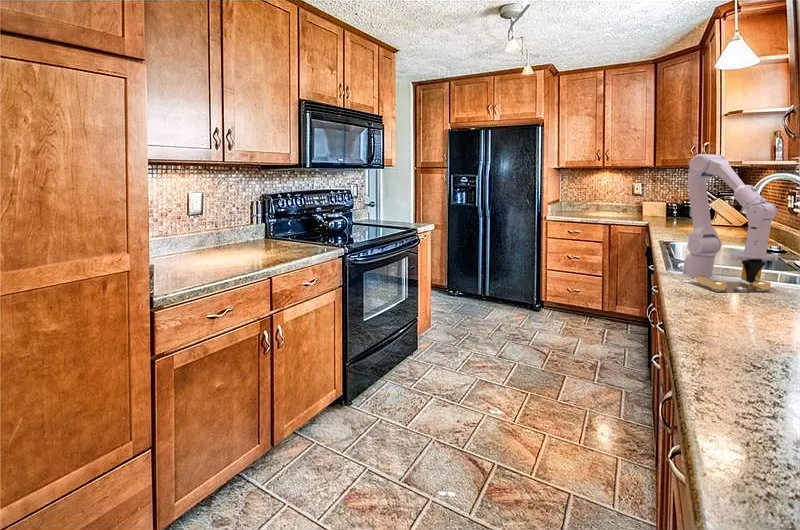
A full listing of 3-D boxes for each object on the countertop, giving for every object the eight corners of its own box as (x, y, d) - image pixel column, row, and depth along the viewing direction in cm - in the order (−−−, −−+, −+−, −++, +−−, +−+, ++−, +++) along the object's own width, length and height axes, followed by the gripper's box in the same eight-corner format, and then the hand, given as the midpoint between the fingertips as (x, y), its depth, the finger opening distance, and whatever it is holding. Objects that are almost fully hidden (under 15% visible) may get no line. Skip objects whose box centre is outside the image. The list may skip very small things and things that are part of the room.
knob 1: (729, 291, 148) (731, 282, 148) (716, 292, 148) (717, 282, 147) (705, 283, 159) (706, 274, 158) (692, 283, 159) (693, 274, 158)
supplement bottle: (751, 285, 164) (755, 257, 162) (736, 281, 169) (740, 254, 167) (763, 284, 166) (767, 256, 164) (748, 281, 171) (752, 254, 169)
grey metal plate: (686, 286, 162) (687, 278, 161) (740, 286, 163) (741, 278, 162) (715, 297, 148) (716, 289, 147) (773, 297, 149) (775, 288, 148)
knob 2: (771, 292, 148) (773, 282, 148) (754, 290, 150) (756, 281, 149) (759, 284, 158) (760, 275, 158) (743, 283, 160) (745, 274, 159)
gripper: (744, 242, 149) (737, 285, 152) (789, 242, 150) (781, 285, 153) (728, 239, 156) (722, 279, 159) (771, 239, 157) (764, 280, 159)
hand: (750, 282), depth 156 cm, fingers closed, pressing on knob 2
